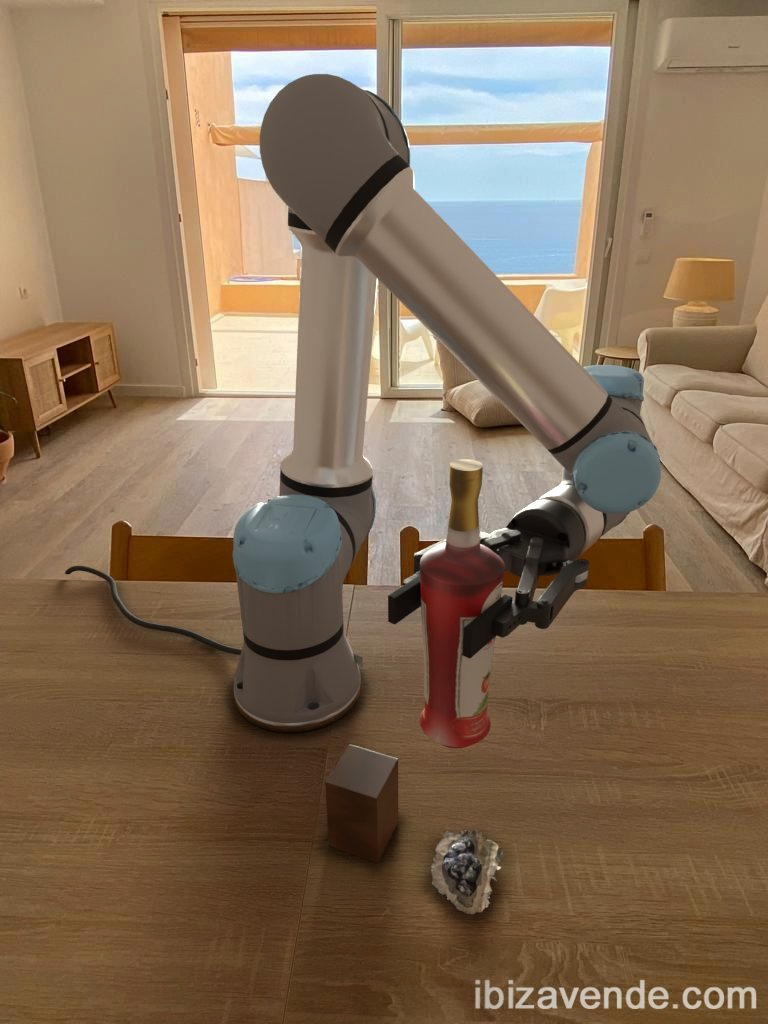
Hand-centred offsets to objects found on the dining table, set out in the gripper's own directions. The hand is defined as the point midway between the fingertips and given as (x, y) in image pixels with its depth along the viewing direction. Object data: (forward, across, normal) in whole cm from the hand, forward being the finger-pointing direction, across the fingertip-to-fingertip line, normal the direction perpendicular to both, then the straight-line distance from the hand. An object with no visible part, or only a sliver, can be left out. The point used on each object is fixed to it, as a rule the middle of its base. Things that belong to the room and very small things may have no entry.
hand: (427, 626), depth 58 cm
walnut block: (+5, +3, -22) cm, 23 cm away
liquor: (-5, 0, -15) cm, 16 cm away
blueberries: (+3, -7, -22) cm, 23 cm away
